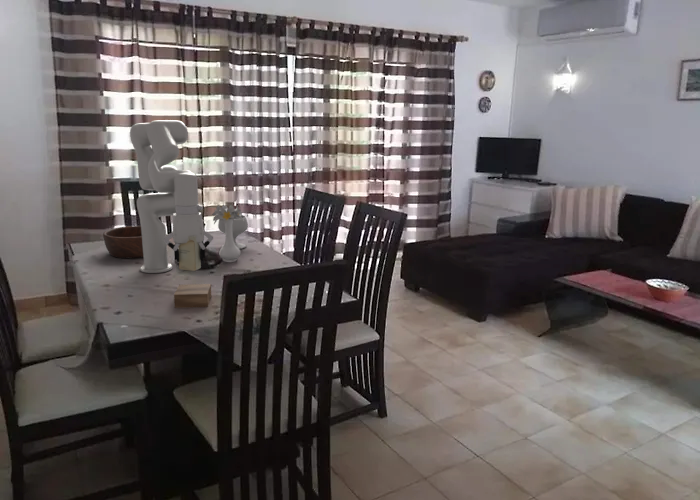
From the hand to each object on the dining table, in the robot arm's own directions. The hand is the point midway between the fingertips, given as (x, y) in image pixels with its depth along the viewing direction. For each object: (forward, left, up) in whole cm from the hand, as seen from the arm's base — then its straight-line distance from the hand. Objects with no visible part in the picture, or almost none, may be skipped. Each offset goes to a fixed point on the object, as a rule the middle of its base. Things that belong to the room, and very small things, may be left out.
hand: (190, 260), depth 190 cm
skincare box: (0, 0, -3) cm, 3 cm away
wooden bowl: (-72, -25, -15) cm, 78 cm away
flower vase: (-51, +16, -15) cm, 56 cm away
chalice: (-74, +20, -15) cm, 78 cm away
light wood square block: (0, 0, -15) cm, 15 cm away
